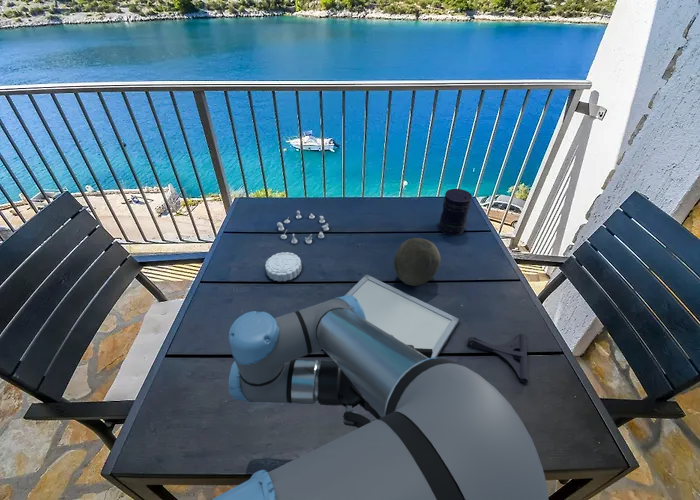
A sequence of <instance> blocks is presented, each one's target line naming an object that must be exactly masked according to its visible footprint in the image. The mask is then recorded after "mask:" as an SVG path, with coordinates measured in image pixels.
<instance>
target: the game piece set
mask: <svg viewBox="0 0 700 500" xmlns="http://www.w3.org/2000/svg"><path fill="white" fill-rule="evenodd" d="M296 214H297V215H296V216H295V218H296V219H297V220H299V219H302V215H301V212H300V210H296ZM308 218H309V219H311V220H313V219H315V218H316V216H315V215H314V214H313V213H312V212H311V213H310V215H309V216H308ZM318 222H319V224H324V223H325V222H326V220H325V217H324V216H323V215H319V221H318ZM283 223H284V224H290V223H291V220H289V216H287V219H285V220H284V221H283V222H280V221H279V222H277V223H276V225H277V227H278V231H279V232H282V231H284V230H285V231H284V233H283V234H281V235H280V239H281V240H285V239H287V238H288V236H287V235H286V233H287V231H288V229H285V227H284V225H283ZM321 228H322V230H323V231H324V232H325V231H326V232H327V231H329V230H330V227H329V223H325V224H324V225H322V226H321ZM291 236H292V238H291V242H290V243H291V244H294V245H295V244H297V243H298V239H297V238H296V237H295V233H292V235H291ZM312 236H313V234H312V233H311V234H310V235H309V236H308V237H305V236H304V241H305V243H306V244H308V245H309V244H312V243H313V240H312V239H313V237H312ZM317 238H318V239H324V238H325V235H324V233H323V232H322V231H319V233H318V236H317Z"/></svg>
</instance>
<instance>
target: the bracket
mask: <svg viewBox="0 0 700 500" xmlns="http://www.w3.org/2000/svg"><path fill="white" fill-rule="evenodd" d="M467 344H468V346H470V347H471V348H475V349H479V350H482V351H486V352H490V353H493V354H496V355H498V356H499V357H501V358H502V359H504V360H505V361H506V362H507V363H508V364H509V365H510V366H511V367H512V369H513V370H514V372H515V373H516V375H517V378H518V379H520V382H521V383H529V372H528V371H529V370H528V350H527V349H528V348H527V346H528V345H527V335H526V334H525V333H520V334H519V335H518V336H517V337H516V338H515V339H514V340H513V341H511V342H510V343H507V344H502V345H498V344H492V343H489V342H488V341H487V342H486V341H484V340H482V339H480V338H477V337H476V336H470V337H468V339H467ZM518 350H519V351H518ZM516 360H519V362H518V361H516Z"/></svg>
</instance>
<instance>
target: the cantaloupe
mask: <svg viewBox="0 0 700 500" xmlns="http://www.w3.org/2000/svg"><path fill="white" fill-rule="evenodd" d="M441 259H442V258H441V253H440V251H439V249H438V248H437V246H436V245H435V243H433V242H432V241H431V240H429V239H425V238H422V237H412V238H409V239H407V240H404V241H403V242H402V243H400V244H399V246H398V248H397V250H396V252H395V255H394V259H393V267H394V270H395V274H396V275H397V277H398V279H399V280H400V281H401V282H402V283H403V284H405V285H407V286H411V287H417V286H418V287H419V286H422V285H424V284H426V283H428V282H429V281H431V280H432V279H433V277H434V276H435V275H436V274H437V272H438V270H439V268H440V265H441V261H442V260H441Z"/></svg>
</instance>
